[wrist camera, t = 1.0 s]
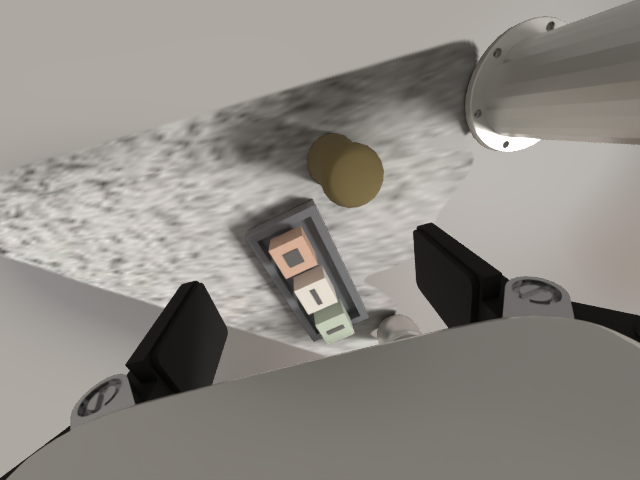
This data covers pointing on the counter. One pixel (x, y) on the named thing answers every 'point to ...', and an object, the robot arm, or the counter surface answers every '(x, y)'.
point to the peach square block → (292, 252)
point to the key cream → (314, 289)
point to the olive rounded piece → (345, 170)
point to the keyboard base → (325, 256)
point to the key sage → (333, 322)
